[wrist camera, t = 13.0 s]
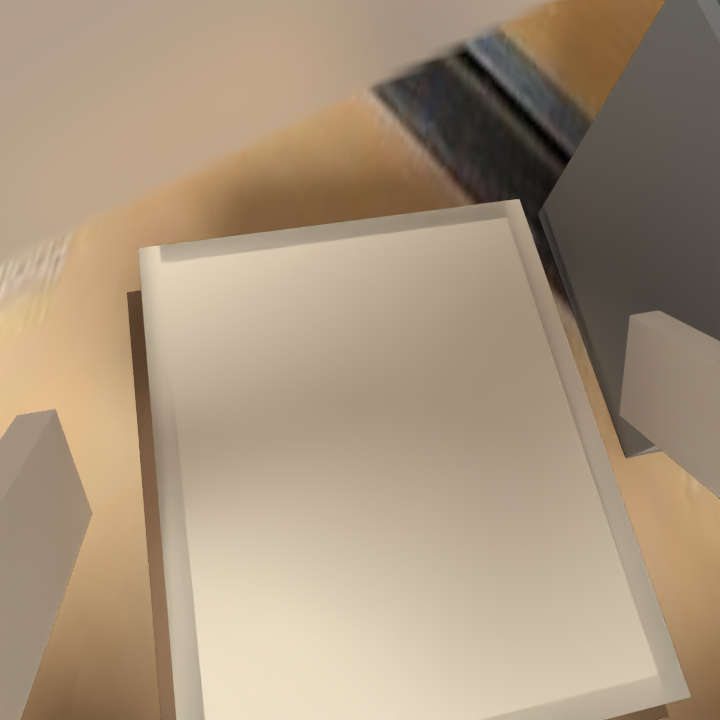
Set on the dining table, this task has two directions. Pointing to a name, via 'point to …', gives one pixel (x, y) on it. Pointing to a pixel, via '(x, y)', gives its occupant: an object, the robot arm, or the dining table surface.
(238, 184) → the dining table surface
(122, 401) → the dining table surface
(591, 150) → the carton
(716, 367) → the robot arm
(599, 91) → the dining table surface
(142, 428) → the board
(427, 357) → the lid
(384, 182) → the dining table surface
